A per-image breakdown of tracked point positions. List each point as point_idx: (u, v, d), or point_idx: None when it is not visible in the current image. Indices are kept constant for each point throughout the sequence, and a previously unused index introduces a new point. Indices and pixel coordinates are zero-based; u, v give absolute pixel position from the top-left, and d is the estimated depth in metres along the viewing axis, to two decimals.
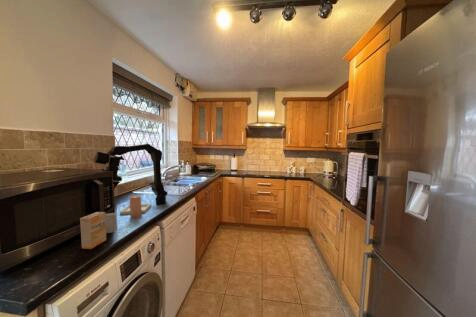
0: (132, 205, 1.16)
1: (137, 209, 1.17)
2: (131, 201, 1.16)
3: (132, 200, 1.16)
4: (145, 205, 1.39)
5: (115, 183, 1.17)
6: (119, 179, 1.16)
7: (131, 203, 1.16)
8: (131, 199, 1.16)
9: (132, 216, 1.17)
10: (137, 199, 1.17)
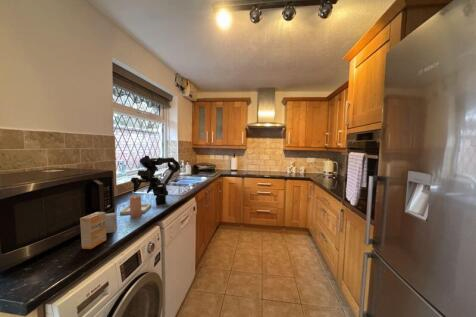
0: (132, 205, 1.16)
1: (137, 209, 1.17)
2: (131, 201, 1.16)
3: (132, 200, 1.16)
4: (145, 205, 1.39)
5: (153, 186, 1.28)
6: (160, 183, 1.29)
7: (131, 203, 1.16)
8: (131, 199, 1.16)
9: (132, 216, 1.17)
10: (137, 199, 1.17)
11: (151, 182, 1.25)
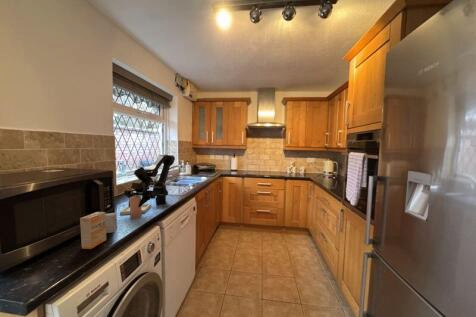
0: (132, 205, 1.16)
1: (137, 209, 1.17)
2: (131, 201, 1.16)
3: (132, 200, 1.16)
4: (145, 205, 1.39)
5: (145, 199, 1.22)
6: (155, 196, 1.23)
7: (131, 203, 1.16)
8: (131, 199, 1.16)
9: (132, 216, 1.17)
10: (137, 199, 1.17)
11: (143, 195, 1.19)
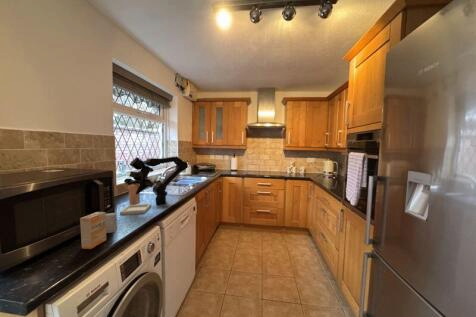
0: (130, 192, 1.24)
1: (134, 196, 1.25)
2: (129, 189, 1.24)
3: (130, 188, 1.24)
4: (145, 205, 1.39)
5: (143, 187, 1.29)
6: (151, 184, 1.30)
7: (129, 190, 1.25)
8: (129, 187, 1.24)
9: (130, 202, 1.25)
10: (135, 187, 1.25)
11: (140, 183, 1.27)
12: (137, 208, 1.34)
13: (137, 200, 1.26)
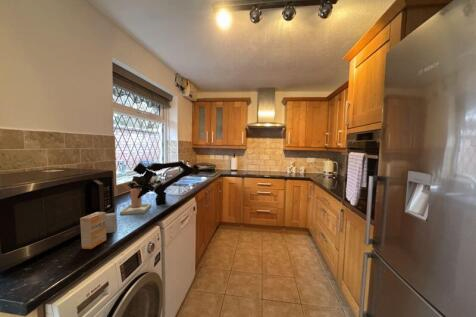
0: (132, 196, 1.28)
1: (136, 200, 1.29)
2: (131, 192, 1.28)
3: (132, 192, 1.28)
4: (145, 205, 1.39)
5: (145, 191, 1.33)
6: (153, 189, 1.33)
7: (131, 194, 1.29)
8: (131, 191, 1.28)
9: (132, 206, 1.29)
10: (136, 191, 1.29)
11: (142, 188, 1.30)
12: (137, 208, 1.34)
13: (138, 204, 1.30)
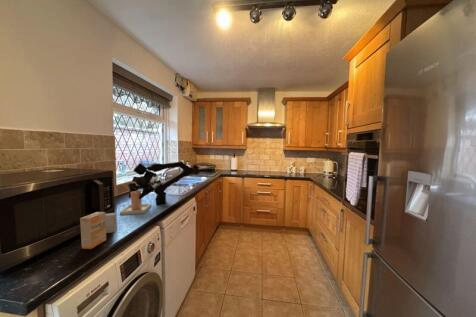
0: (132, 199, 1.29)
1: (136, 202, 1.29)
2: (131, 195, 1.29)
3: (132, 194, 1.28)
4: (145, 205, 1.39)
5: (146, 192, 1.32)
6: (153, 189, 1.33)
7: (131, 197, 1.29)
8: (131, 193, 1.29)
9: (132, 209, 1.29)
10: (136, 193, 1.29)
11: (144, 188, 1.30)
12: None
13: (138, 206, 1.30)
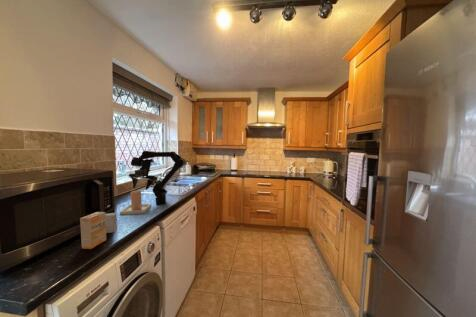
0: (132, 199, 1.29)
1: (136, 202, 1.29)
2: (131, 195, 1.29)
3: (132, 194, 1.28)
4: (145, 205, 1.39)
5: (150, 182, 1.42)
6: (156, 179, 1.43)
7: (131, 197, 1.29)
8: (131, 193, 1.29)
9: (132, 209, 1.29)
10: (136, 193, 1.29)
11: (148, 180, 1.39)
12: None
13: (138, 206, 1.30)
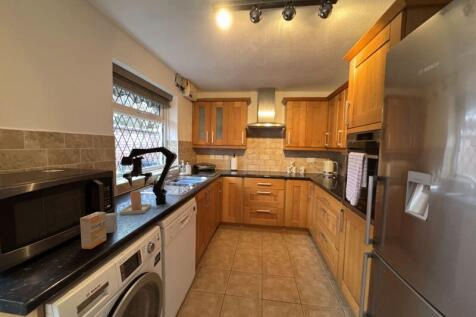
0: (132, 199, 1.28)
1: (136, 202, 1.29)
2: (131, 195, 1.29)
3: (131, 195, 1.28)
4: (145, 205, 1.39)
5: (147, 178, 1.47)
6: None
7: (131, 197, 1.29)
8: (131, 193, 1.28)
9: (132, 209, 1.29)
10: (136, 193, 1.29)
11: (145, 178, 1.44)
12: None
13: (138, 206, 1.30)
